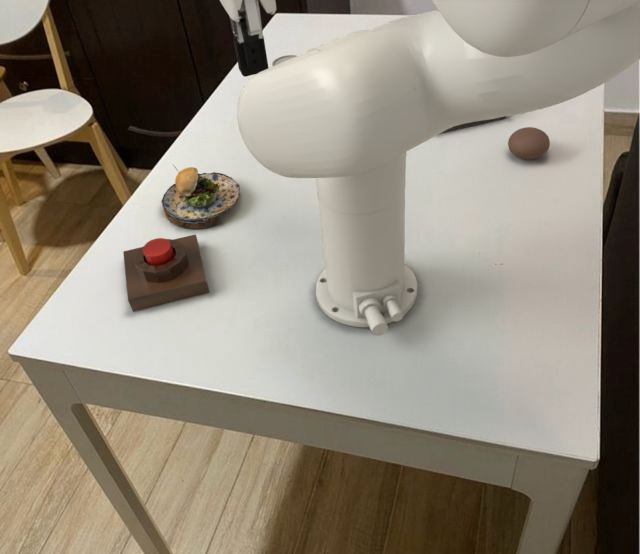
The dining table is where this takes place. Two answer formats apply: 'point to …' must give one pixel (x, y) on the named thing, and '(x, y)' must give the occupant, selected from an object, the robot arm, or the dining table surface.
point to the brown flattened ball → (529, 143)
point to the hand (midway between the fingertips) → (254, 71)
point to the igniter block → (165, 275)
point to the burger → (199, 198)
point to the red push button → (158, 251)
